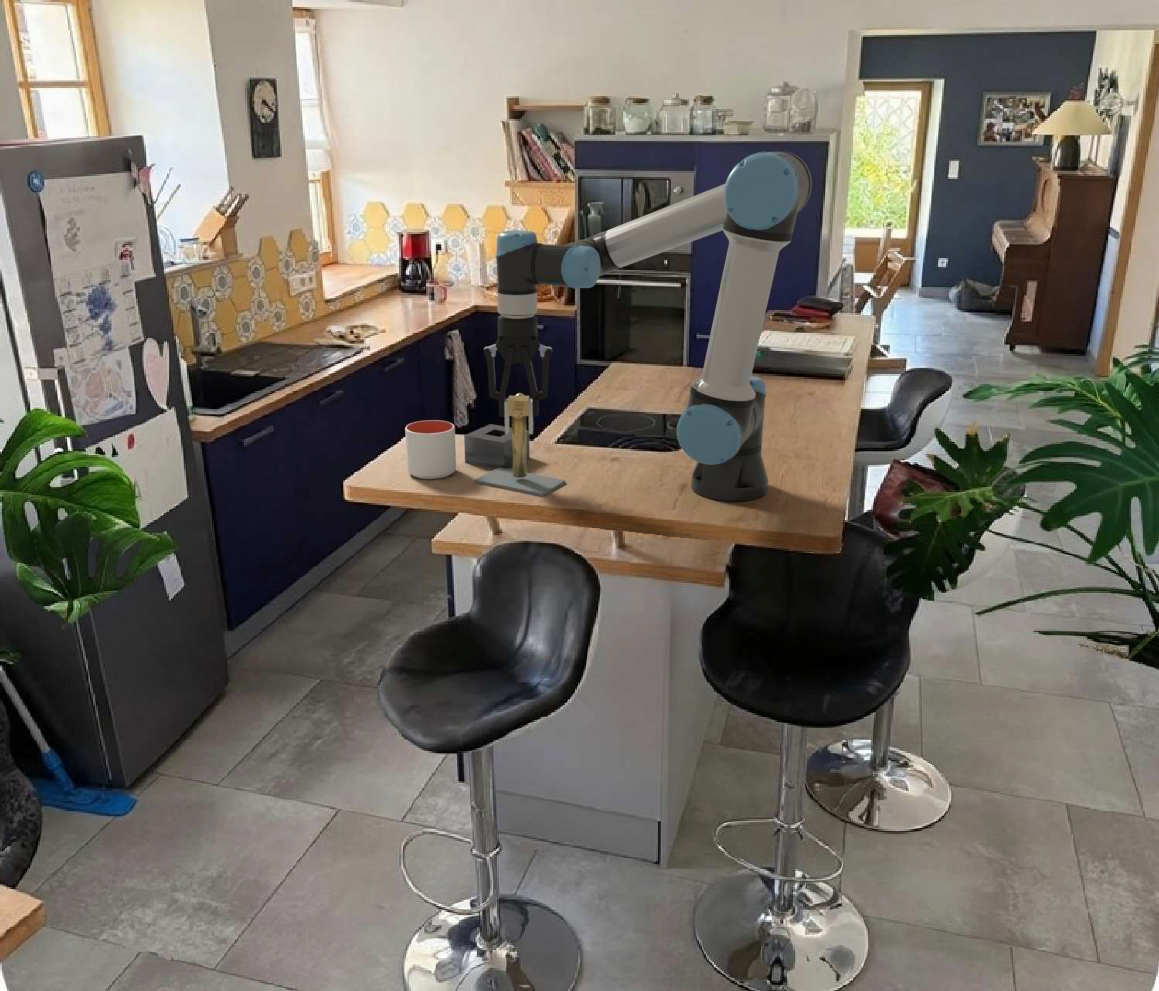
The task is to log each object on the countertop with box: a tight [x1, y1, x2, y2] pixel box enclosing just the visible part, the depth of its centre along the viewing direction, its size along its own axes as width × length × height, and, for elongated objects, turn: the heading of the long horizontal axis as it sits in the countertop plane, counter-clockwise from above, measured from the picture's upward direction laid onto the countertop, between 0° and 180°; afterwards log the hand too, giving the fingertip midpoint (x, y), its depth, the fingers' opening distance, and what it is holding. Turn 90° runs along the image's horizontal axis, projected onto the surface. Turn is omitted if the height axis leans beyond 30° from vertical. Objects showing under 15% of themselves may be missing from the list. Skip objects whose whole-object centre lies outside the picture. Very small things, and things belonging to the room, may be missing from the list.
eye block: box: [463, 423, 530, 469], centre depth 219 cm, size 10×10×6 cm
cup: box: [404, 419, 457, 480], centre depth 210 cm, size 10×10×10 cm
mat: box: [474, 467, 566, 497], centre depth 206 cm, size 16×9×1 cm, turn 61°
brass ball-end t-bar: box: [507, 392, 530, 478], centre depth 203 cm, size 13×4×16 cm, turn 1°
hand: (519, 431), depth 203 cm, fingers closed on brass ball-end t-bar, 4 cm apart
